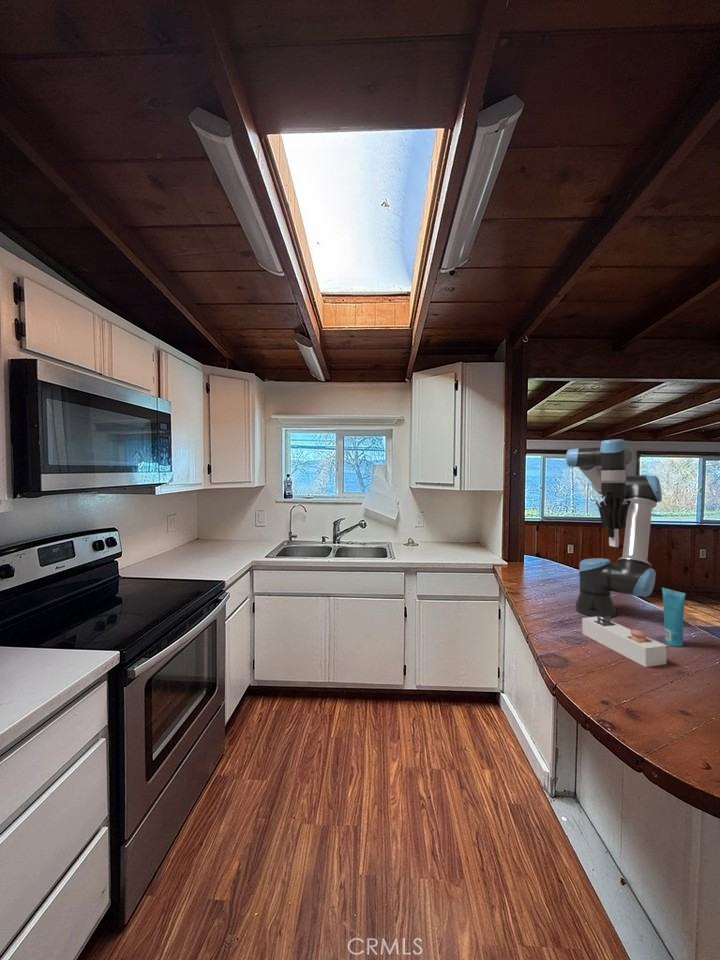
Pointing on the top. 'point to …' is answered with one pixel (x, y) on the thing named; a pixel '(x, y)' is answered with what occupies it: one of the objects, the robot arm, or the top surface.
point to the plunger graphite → (604, 620)
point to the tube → (673, 616)
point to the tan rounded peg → (638, 635)
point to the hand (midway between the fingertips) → (614, 546)
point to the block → (625, 642)
